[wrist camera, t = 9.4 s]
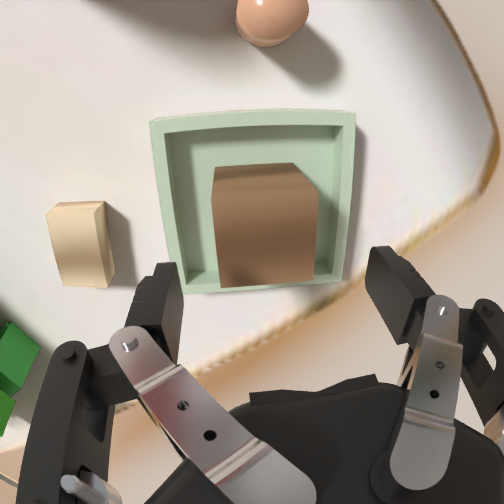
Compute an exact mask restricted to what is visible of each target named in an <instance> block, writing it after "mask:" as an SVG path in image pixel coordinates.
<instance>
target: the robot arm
mask: <svg viewBox="0 0 504 504" xmlns="http://www.w3.org/2000/svg"><path fill="white" fill-rule="evenodd" d="M365 286H366V290H367V292H368V294H369V295H370V297H371V299H372V301H373V302H374V304H375V306H376V308H377V309H378V311H379V313H380V314H381V316H382V318H383V320H384V322H385V324H386V325H387V327H388V329H389V331H390V332H391V334H392V336H393V338H394V340H395V342H396V344H397V345H399V344H404V343H408V344H409V348H408V350H407V353H406V356H405V360H404V363H403V367H402V370H401V373H400V377H399V380H398V383H397V385H394V384H389V383H381V382H378V380H377V378H376V375H375V374H372V375H367V376H362V377H357V378H352V379H347V380H344V381H342V382H340V383H338V384H335V385H333V386H330V387H328V388H326V389H323V390H321V391H318V392H308V391H294V390H274V391H264V392H255V393H254V392H253V393H249V395H250V402H248V403H245V404H242V405H240V406H238V407H235V408H234V409H232V410H230V411H229V412H227V411H226V410H225V409H224V408H223V407H222V406H221V405H220V404H219V403H218V402H217V401H216V400H215V399H214V398H213V397H212V396H211V395H210V394H209V393H208V392H207V391H206V390H205V389H204V388H203V387H202V386H201V385H200V384H199V383H198V382H197V380H196V379H195V378H194V377H193V376H192V375H191V374H190V373H189V372H188V371H187V370H186V369H185V368H184V367H183V366H182V365H180V364H178V365H177V359H178V350H179V341H180V332H181V324H182V316H183V307H184V301H183V292H182V288H181V283H180V278H179V273H178V268H177V264H176V262H166V263H157V265H156V268H155V271H154V274H153V276H145V277H144V279H143V280H142V281H141V282H140V283H139V284H138V286H137V289H136V292H135V295H134V298H133V303H132V304H131V307H130V310H129V313H128V316H127V320H126V323H125V326H124V328H122V329H120V330H118V331H117V332H116V333H114V335H113V336H112V337H111V339H110V342H109V344H107V345H104V346H101V347H97V348H93V349H89V350H87V348H86V346H85V345H84V344H83V343H82V342H80V341H68V342H65V343H63V344H62V345H60V346H59V347H58V348H57V349H56V350H55V351H54V353H53V355H52V358H51V361H50V364H49V366H48V369H47V372H46V375H45V378H44V381H43V384H42V387H41V391H40V394H39V397H38V400H37V404H36V407H35V411H34V414H33V418H32V422H31V426H30V430H29V434H28V438H27V442H26V446H25V451H24V456H23V461H22V466H21V471H20V477H19V483H18V489H17V497H16V504H122V499H121V496H120V495H119V493H118V491H117V490H116V489H115V488H114V487H112V486H111V485H109V484H108V483H107V481H108V466H109V454H110V444H111V434H112V426H113V418H114V410H115V404H118V403H122V402H126V401H130V400H134V399H137V400H138V401H139V403H140V404H141V406H142V407H143V408H144V410H145V411H146V413H147V414H148V415H149V417H150V418H151V420H152V421H153V422H154V423H155V425H156V426H157V428H158V429H159V430H160V432H161V433H162V434H163V436H164V437H165V439H166V440H167V441H168V443H169V444H170V445H171V447H172V448H173V449H174V450H175V452H176V453H177V454H178V455H179V457H180V458H181V459H182V460H183V462H182V463H181V464H180V465H179V466H178V467H177V468H176V470H175V471H174V472H173V473H172V474H171V475H170V476H169V477H168V478H167V480H166V481H165V482H164V483H163V484H162V485H161V486H160V487H159V488H158V489H157V490H156V491H155V493H154V494H153V495H152V496H151V497H150V498H149V499H148V500H147V501H146V502H145V503H144V504H504V312H503V311H502V309H501V308H500V307H499V306H498V305H497V304H496V303H495V302H493V301H491V300H488V299H479V300H477V301H476V302H475V305H474V307H473V309H463V308H459V307H458V305H457V304H456V303H455V302H454V301H453V300H452V299H450V298H448V297H446V296H443V295H436V294H435V293H434V292H433V290H432V289H431V288H430V286H429V285H428V284H427V283H426V282H425V280H424V279H423V278H422V277H420V274H419V273H418V272H417V271H416V270H415V268H414V267H413V266H412V265H411V263H410V262H408V261H407V260H405V259H404V258H402V257H401V256H398V255H397V254H396V253H395V252H394V251H393V249H392V248H391V247H390V246H378V247H372V248H371V250H370V254H369V260H368V265H367V270H366V275H365ZM487 345H488V346H489V348H490V350H491V351H492V353H493V355H494V356H495V358H496V368H495V370H494V371H493V369H492V367H491V366H490V364H489V362H488V361H487V359H486V357H485V356H484V354H483V351H484V350H485V348H486V346H487ZM460 377H461V378H462V380H463V382H464V384H465V386H466V388H467V390H468V392H469V394H470V397H471V398H472V400H473V403H474V405H475V407H476V409H477V412H478V414H479V416H480V418H481V420H482V423H483V425H484V427H485V428H484V435H483V434H481V433H479V432H478V431H476V430H474V429H472V428H471V427H469V426H467V425H465V424H464V423H462V422H460V421H459V420H456V419H455V418H454V415H455V409H456V404H457V397H458V390H459V382H460Z"/></svg>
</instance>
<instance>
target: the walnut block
mask: <svg viewBox="0 0 504 504" xmlns="http://www.w3.org/2000/svg"><path fill="white" fill-rule="evenodd" d="M318 196H319V192H318V191H317V190H316V189H315V188H314V186H313V185H312V184H311V183H310V182H309V181H308V179H307V178H306V177H305V176H304V175H303V174H302V172H301V171H300V170H299V169H298V168H297V167H296V166H295V164H294V163H269V164H250V165H234V166H221V167H215V170H214V177H213V186H212V194H211V205H212V215H213V225H214V234H215V244H216V253H217V262H218V270H219V279H220V287H221V288H232V287H245V286H257V285H269V284H281V283H292V282H303V281H313V277H314V264H315V250H316V235H317V217H318Z"/></svg>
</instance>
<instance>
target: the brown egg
mask: <svg viewBox="0 0 504 504" xmlns="http://www.w3.org/2000/svg"><path fill="white" fill-rule="evenodd" d="M308 13H309V6H308V2H307V0H238V4H237V10H236V17H235V26H236V29H237V31H238V33H239V35H240V36H241V37H242V38H243V39H244V40H245V41H247V42H249V43H250V44H253V45H256V46H260V47H270V46H275V45H278V44H280V43H282V42H283V41H284V40H286V39H287V38H288V37H289V36H291V35H292V34H293V33H295V32H296V31H297V30H298V29H300V28H301V27H302V26H303V24H304V23H305V22H306V20H307V17H308Z"/></svg>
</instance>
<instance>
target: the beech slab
mask: <svg viewBox="0 0 504 504" xmlns="http://www.w3.org/2000/svg"><path fill="white" fill-rule="evenodd" d="M45 215H46V220H47V225H48V230H49V234H50V238H51V243H52V247H53V251H54V255H55V259H56V262H57V266H58V270H59V273H60V277H61V280H62V283H63V286H75V287H95V288H108V287H109V284H110V282H111V280H112V278H113V276H114V274H115V272H116V271H115V266H114V261H113V255H112V250H111V244H110V237H109V231H108V224H107V217H106V210H105V202H104V201H86V202H63V203H58V204H57V205H56V206H54V207H53V208H52V209H51V210H50V211H49V212H48V213H46V214H45Z"/></svg>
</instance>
